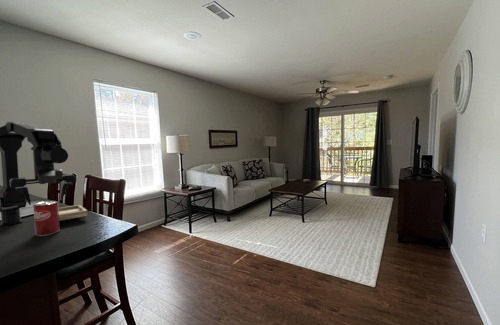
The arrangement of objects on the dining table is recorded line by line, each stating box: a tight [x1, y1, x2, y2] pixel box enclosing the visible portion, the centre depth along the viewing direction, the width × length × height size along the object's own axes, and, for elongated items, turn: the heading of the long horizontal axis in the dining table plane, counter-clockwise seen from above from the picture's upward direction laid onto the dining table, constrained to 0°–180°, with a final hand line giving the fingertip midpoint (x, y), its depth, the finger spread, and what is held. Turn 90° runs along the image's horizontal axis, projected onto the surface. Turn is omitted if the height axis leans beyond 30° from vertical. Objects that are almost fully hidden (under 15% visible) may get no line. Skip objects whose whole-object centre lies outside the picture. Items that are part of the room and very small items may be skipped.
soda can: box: [32, 200, 61, 237], centre depth 90 cm, size 7×7×12 cm
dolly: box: [59, 204, 88, 222], centre depth 105 cm, size 14×14×5 cm
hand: (46, 202), depth 90 cm, fingers open, 9 cm apart
